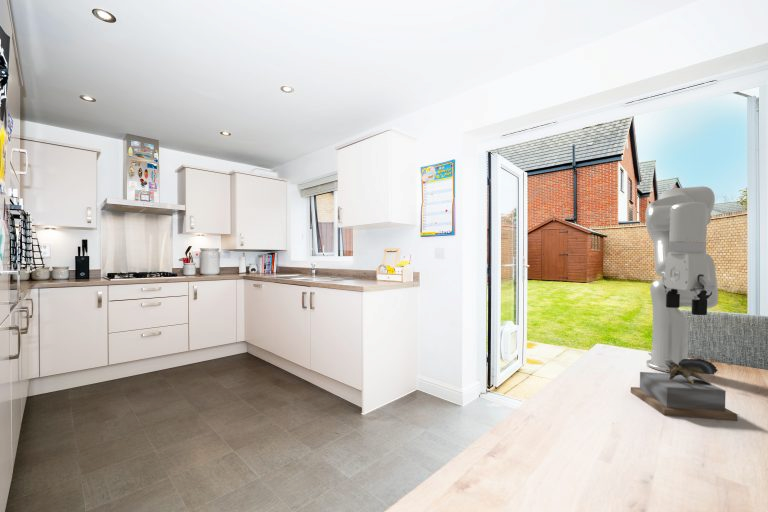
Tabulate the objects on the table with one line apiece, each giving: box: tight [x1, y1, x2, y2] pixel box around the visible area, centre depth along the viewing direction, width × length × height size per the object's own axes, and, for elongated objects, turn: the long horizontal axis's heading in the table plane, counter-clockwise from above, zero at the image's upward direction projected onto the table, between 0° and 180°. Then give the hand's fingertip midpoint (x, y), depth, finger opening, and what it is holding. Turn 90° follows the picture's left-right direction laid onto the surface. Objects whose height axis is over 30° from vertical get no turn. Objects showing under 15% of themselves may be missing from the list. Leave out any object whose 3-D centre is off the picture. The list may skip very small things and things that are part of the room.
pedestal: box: [630, 371, 739, 421], centre depth 89 cm, size 14×16×6 cm
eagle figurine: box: [665, 358, 718, 385], centre depth 89 cm, size 8×7×9 cm
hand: (685, 311), depth 92 cm, fingers open, 9 cm apart
